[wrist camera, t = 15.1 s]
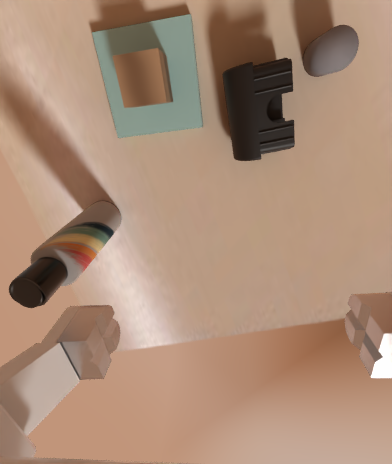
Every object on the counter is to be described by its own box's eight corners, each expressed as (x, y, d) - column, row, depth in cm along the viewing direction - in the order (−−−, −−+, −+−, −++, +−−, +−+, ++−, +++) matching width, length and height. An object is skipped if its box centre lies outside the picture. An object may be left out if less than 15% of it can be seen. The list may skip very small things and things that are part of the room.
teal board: (191, 17, 29) (190, 13, 28) (203, 126, 35) (202, 127, 34) (96, 34, 31) (91, 32, 30) (121, 137, 36) (118, 138, 35)
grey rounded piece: (339, 33, 29) (361, 21, 25) (335, 74, 31) (355, 69, 26) (304, 40, 30) (319, 28, 25) (301, 79, 31) (315, 74, 27)
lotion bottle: (97, 233, 44) (17, 321, 26) (83, 204, 42) (-16, 278, 24) (127, 227, 43) (63, 313, 25) (114, 196, 41) (34, 268, 23)
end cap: (221, 75, 32) (222, 68, 26) (278, 61, 31) (293, 50, 25) (232, 154, 36) (235, 164, 30) (283, 144, 35) (296, 152, 29)
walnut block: (166, 56, 30) (157, 47, 26) (173, 101, 33) (166, 101, 28) (127, 62, 31) (112, 55, 27) (136, 107, 33) (124, 107, 29)
